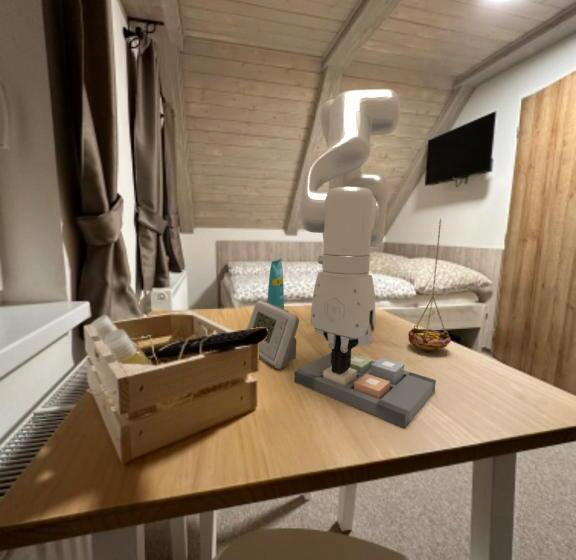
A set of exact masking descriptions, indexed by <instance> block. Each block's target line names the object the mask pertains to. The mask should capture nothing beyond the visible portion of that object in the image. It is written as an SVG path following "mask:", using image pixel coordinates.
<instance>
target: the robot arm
mask: <svg viewBox="0 0 576 560" xmlns="http://www.w3.org/2000/svg"><path fill="white" fill-rule="evenodd" d="M400 116H401V103H400V99H399V96H398V94H397V93H396V91H394V90H392V89H390V88H374V89H373V88H372V89H371V88H370V89H369V88H368V89H350V90H345V91H343V92H340V93H339V94H337V96H335V97H334V98H332V99H329V100H327V101H325V102H323V103H322V105H321V107H320V115H319V117H320V125H321V130H322V134H323V137H324V141H325V143H326V146H327V148H326V149H325V150H324V151H322V152H321V153H320V154H319V155H318V156H316V158H315V159H314V160H313V162H312V163H311V164H310V165H309V167H308V168H307V170H306V172H305V174H304V176H303V181H302V185H301V186H302V187H301V194H300V204H299V219H300V223H301V226H302V228H303V229H305V231H307V232H310V233H313V234H314V233H318V234H322V239H323V240H322V241H323V242H322V243H323V249H322V250H323V251H322V252H323V253H322V255H321V256H318V258H317V263H318V264H319V265H321V269H322V270H321V271H318V273H317V275H316V279H315V282H314V288H313V295H312V301H311V302H312V303H311V311H310V324H311V326H312V327H313V329H314V331H315V332H316V333H318V334H320V335H321V336H323V337H324V338H325V340H326V341H327V344H328V348H329V349H330V350H331V351H330V353H331V364H332V372H337V374H342V373H343V372H345V371H347V370H348V369H349V368H350V365H351V354H352V350H353V349H354V348H356V347H357V346H366V347H367V346H370V345H371V344H373V343H374V342H373V341H374V339H373V333H374V331H375V330H374V329H375V324H376V322H375V321H376V297H375V294H376V293H375V285H374V279H373V275H371V274H370V261H371V260H370V259H371V256H370V255H371V248H377V247H380V246H381V245H382V243H384V242H383V241H384V238H385V232H386V218H387V208H388V207H387V206H388V198H389V197H388V193H389V191H388V190H389V189H388V187H389V186H388V180H387V178H386V176H385V175H384V174H383V173H380V172H363V171H362V170H361V169H362V166H363V165H364V164H365V163H366V162H367V161H368V159H369V157H370V155H371V136H384V135H385V136H386V135H391V134H392V133H394V131H395V130H396V129H397V126H398V124H399V122H400V121H399V120H400ZM327 182H328V191H325V190H323V191H318V190H319V189H320V187H322V186H323V185H324V184H326V183H327Z"/></svg>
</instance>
